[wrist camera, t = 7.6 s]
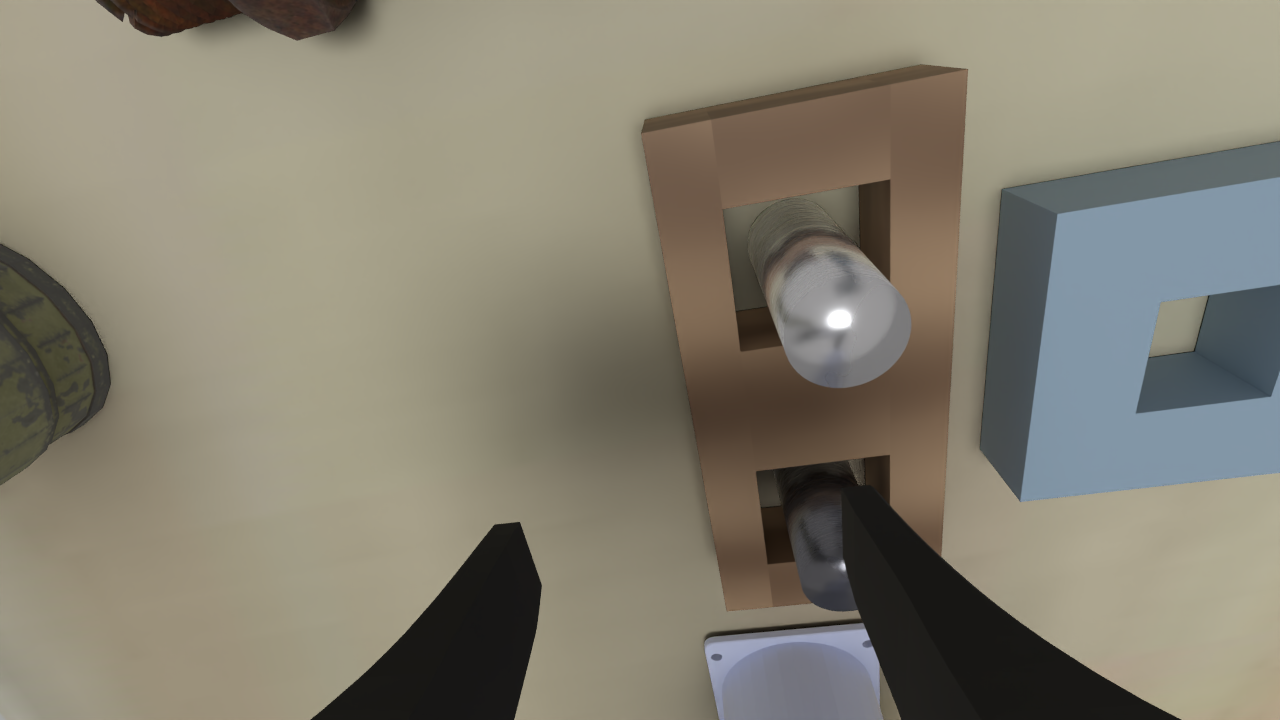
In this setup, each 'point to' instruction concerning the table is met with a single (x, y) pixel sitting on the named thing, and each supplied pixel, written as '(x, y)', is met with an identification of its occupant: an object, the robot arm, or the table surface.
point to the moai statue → (43, 364)
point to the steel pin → (826, 297)
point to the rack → (748, 340)
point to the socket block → (1136, 327)
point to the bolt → (232, 14)
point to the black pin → (818, 529)
